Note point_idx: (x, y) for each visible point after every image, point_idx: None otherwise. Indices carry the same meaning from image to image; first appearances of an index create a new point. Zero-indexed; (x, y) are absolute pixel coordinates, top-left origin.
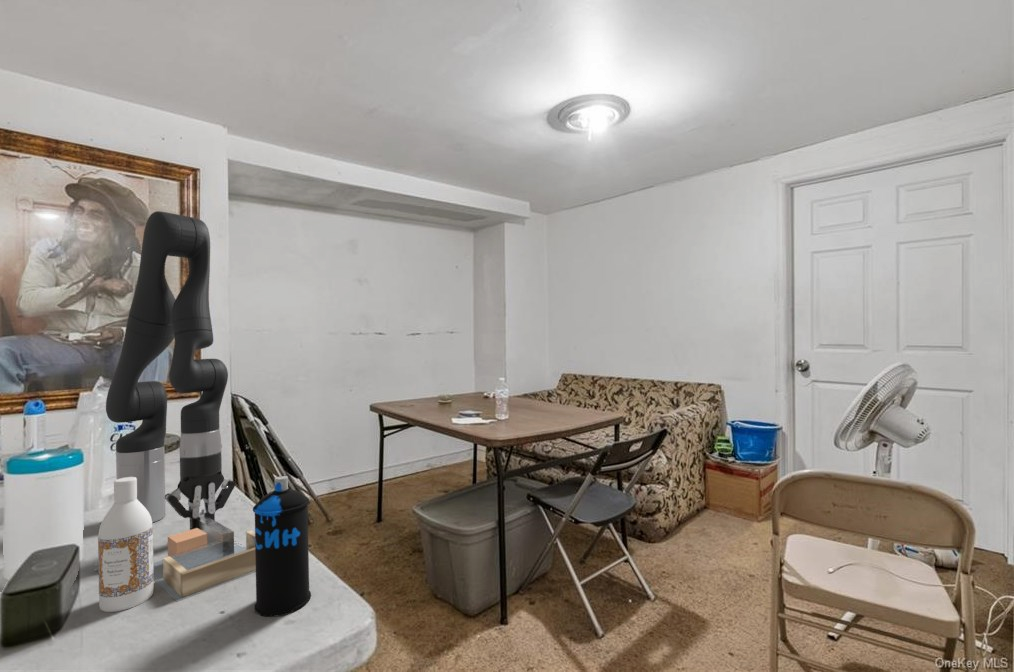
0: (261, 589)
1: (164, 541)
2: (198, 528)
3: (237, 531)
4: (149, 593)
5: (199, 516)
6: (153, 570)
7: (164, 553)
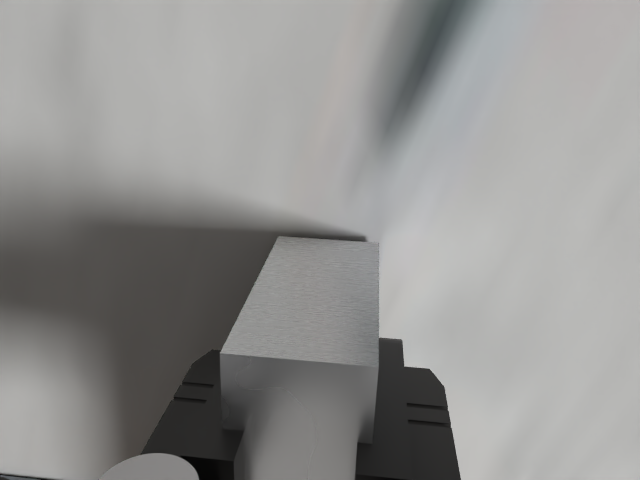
0: None
1: (62, 40)
2: None
3: (616, 422)
4: None
5: (297, 413)
6: None
7: (20, 353)
